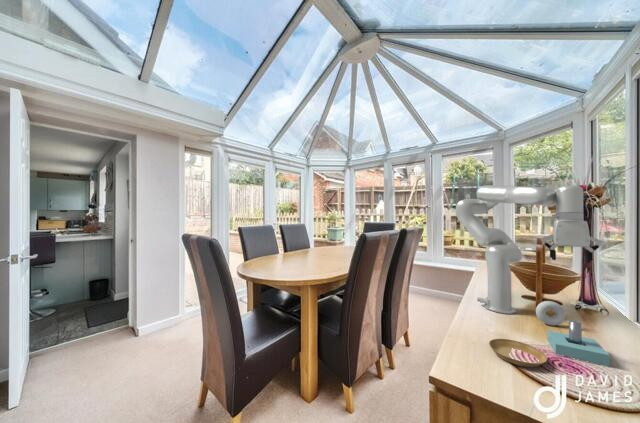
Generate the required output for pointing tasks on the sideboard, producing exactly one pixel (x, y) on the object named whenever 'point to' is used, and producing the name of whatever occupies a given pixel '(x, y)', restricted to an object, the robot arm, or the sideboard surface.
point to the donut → (558, 310)
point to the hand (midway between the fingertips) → (570, 260)
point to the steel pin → (575, 332)
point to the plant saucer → (505, 346)
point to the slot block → (578, 348)
